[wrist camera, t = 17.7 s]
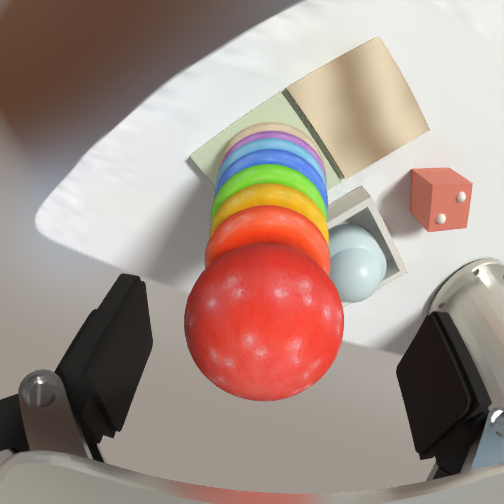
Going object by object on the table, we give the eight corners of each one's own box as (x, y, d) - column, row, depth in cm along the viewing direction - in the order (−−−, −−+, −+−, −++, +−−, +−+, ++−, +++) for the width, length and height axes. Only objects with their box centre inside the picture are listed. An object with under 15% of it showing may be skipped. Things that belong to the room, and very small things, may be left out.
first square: (376, 37, 18) (379, 36, 17) (425, 128, 22) (429, 129, 21) (285, 88, 21) (286, 88, 20) (344, 176, 24) (346, 179, 24)
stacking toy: (288, 100, 21) (367, 184, 5) (339, 187, 24) (440, 393, 8) (200, 155, 23) (77, 341, 7) (256, 233, 27) (242, 456, 11)
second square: (280, 91, 21) (280, 91, 20) (338, 179, 25) (340, 182, 24) (192, 153, 24) (189, 156, 23) (254, 230, 27) (253, 235, 27)
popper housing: (361, 185, 25) (371, 196, 22) (398, 257, 28) (407, 272, 26) (276, 235, 28) (277, 251, 25) (323, 297, 31) (327, 315, 29)
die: (449, 167, 23) (475, 185, 19) (445, 208, 25) (468, 230, 21) (411, 168, 24) (434, 187, 20) (409, 211, 26) (430, 234, 22)
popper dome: (359, 210, 25) (378, 242, 20) (386, 261, 27) (405, 297, 23) (298, 246, 27) (304, 284, 22) (330, 291, 29) (340, 331, 25)
